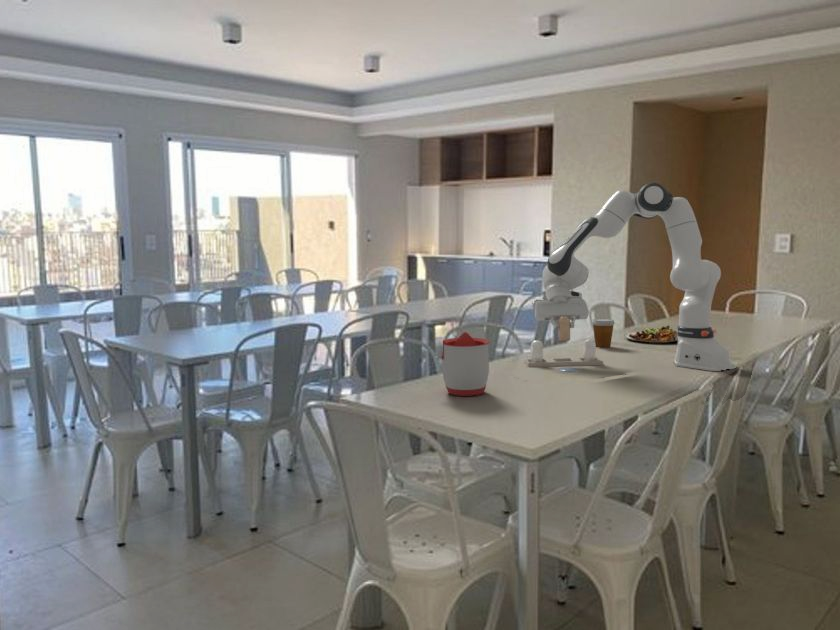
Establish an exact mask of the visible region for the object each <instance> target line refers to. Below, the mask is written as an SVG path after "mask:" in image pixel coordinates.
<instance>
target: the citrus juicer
mask: <svg viewBox="0 0 840 630" xmlns="http://www.w3.org/2000/svg"><path fill="white" fill-rule="evenodd" d="M489 345H490V340H489V339H486V338H481V337H472V336H471V335H470V334H469V333H468V332H466V331H464V332H463V333H462V334H460V335H459V337H455V338H454V337H453V338H452V337H451V338H446V339H443V340H442V350H440V351H438V352H437V354H436V356H435V359H440V358H441V360H442V361H441V362H442V363H441V367H442V369H441V370H442V375H443V376H442V377H443V381H444V384H445V389H446V391H447V392H448V394H450V395H453V396H454V395H459V396H458V397H460V396H461V397H467V396H470V397H471V396H473V395H478V396H480V395H481V394H483V393H484V392H485V391H486V390H485V389H486V387H487V383H488V378H489V374H490V373H489V371H490V370H489V369H490V368H489V367H490V351H489V349H490V347H489Z"/></svg>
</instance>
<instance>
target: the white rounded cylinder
mask: <svg viewBox="0 0 840 630" xmlns="http://www.w3.org/2000/svg"><path fill="white" fill-rule="evenodd" d="M596 348H597V347H596V344H595V339H593V338H587V339H586V340H584V342H583V354H582V355H583V357H582V358H583V361H595V357H596Z"/></svg>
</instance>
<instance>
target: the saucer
mask: <svg viewBox="0 0 840 630" xmlns="http://www.w3.org/2000/svg"><path fill="white" fill-rule="evenodd" d="M556 370H557V371H558V372H563V373H564V372H565V373H576V372H579V371H580V368H577V367H572V366H562V367H557V369H556Z"/></svg>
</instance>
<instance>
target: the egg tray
mask: <svg viewBox="0 0 840 630" xmlns="http://www.w3.org/2000/svg"><path fill="white" fill-rule="evenodd" d="M523 365H525V366H526V367H527V368H537V367H573V366H575V367H576V366H578V367H579V366H604V365H605V364H604V360H603V359H601V358H599V357H598V356H597V357H596V356H595V361H583V357H560V358H559V357H557V358H556V357H555V358H552V357H551V358H543V362H531V358H524V361H523Z"/></svg>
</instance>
